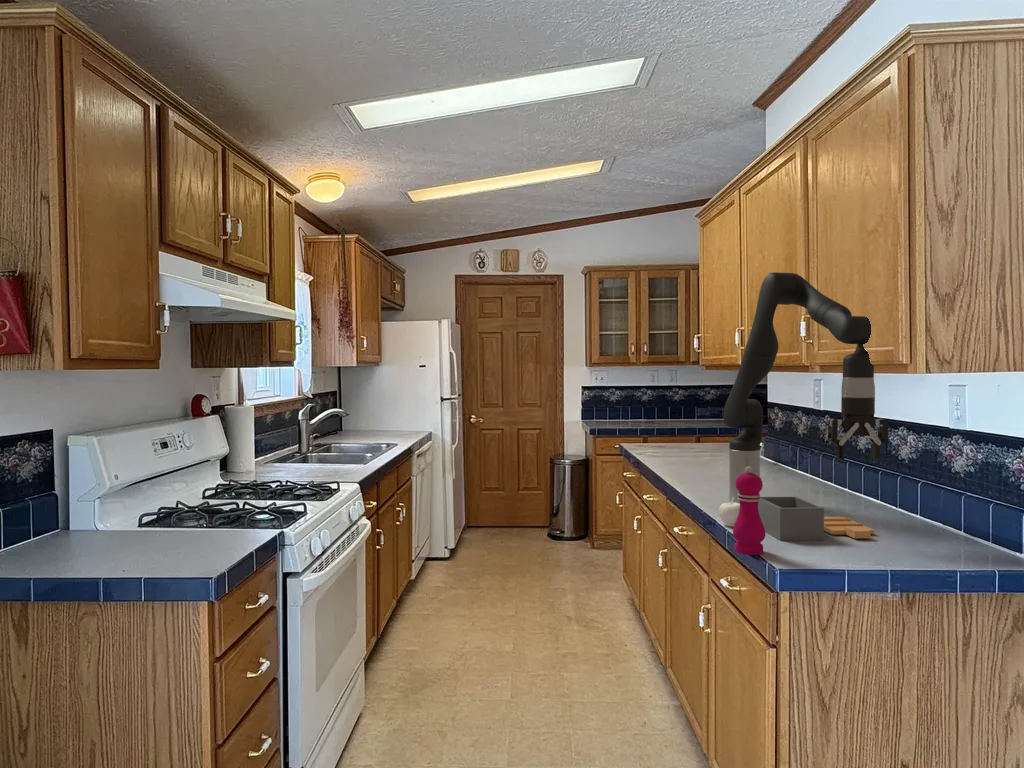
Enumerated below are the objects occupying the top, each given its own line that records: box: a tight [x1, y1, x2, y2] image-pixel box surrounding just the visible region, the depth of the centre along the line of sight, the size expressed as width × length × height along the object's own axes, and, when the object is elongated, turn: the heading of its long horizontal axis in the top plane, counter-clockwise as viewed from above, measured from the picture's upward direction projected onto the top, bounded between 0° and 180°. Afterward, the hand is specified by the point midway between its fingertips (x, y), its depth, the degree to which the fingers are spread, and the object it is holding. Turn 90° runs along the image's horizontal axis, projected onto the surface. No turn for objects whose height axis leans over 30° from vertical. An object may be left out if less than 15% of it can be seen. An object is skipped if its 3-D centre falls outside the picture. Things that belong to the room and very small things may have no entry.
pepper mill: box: [732, 466, 766, 556], centre depth 160 cm, size 7×7×20 cm
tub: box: [758, 495, 825, 541], centre depth 178 cm, size 16×11×8 cm
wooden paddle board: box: [824, 516, 875, 539], centre depth 181 cm, size 20×11×3 cm, turn 1°
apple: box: [718, 497, 740, 528], centre depth 187 cm, size 7×7×8 cm
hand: (857, 460), depth 173 cm, fingers open, 8 cm apart
